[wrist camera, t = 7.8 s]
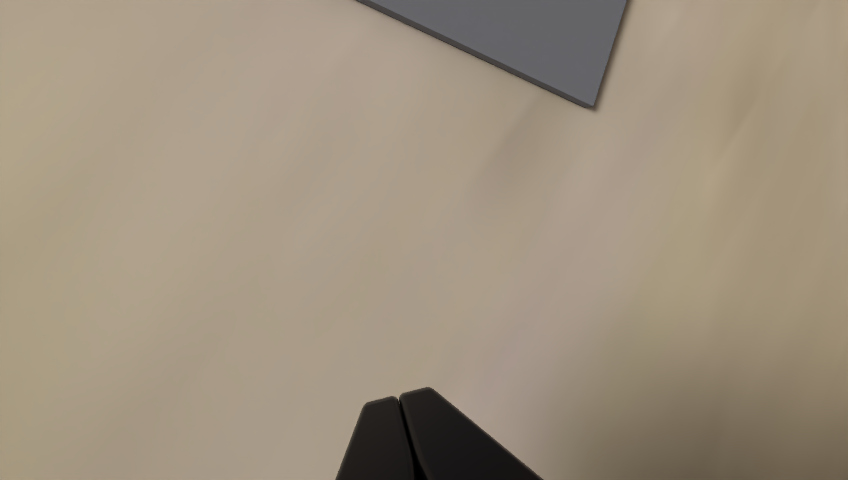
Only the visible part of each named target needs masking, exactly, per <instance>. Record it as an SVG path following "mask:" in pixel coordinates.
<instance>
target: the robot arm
mask: <svg viewBox="0 0 848 480" xmlns="http://www.w3.org/2000/svg"><path fill="white" fill-rule="evenodd" d="M399 403H400V404H399ZM335 480H543V479H542V478H541V477H540V476H538V475H537V474H536V473H535V472H534V471H532V470H531V469H530V468H529V467H527V466H526V465H525V464H524V463H523V462H521V461H520V460H519V459H518V458H517V457H515V456H514V455H513V454H512V453H510V452H509V451H508V450H507V449H506V448H504V447H503V446H502V445H501V444H500V443H498V442H497V441H496V440H495V439H493V438H492V437H491V436H490V435H489V434H487V433H486V432H485V431H484V430H483V429H481V428H480V427H479V426H478V425H476V424H475V423H474V422H473V421H472V420H470V419H469V418H468V417H467V416H465V415H464V414H463V413H462V412H461V411H459V410H458V409H457V408H456V407H455V406H453V405H452V404H451V403H450V402H448V401H447V400H446V399H445V398H444V397H442V396H441V395H440V394H439V393H438V392H436V391H435V390H434V389H432V388H430V387H425V388H421V389H417V390H413V391H410V392H406V393H403V394H401V395H400V397H399V401H398V399H397V398H396V397H394V396H390V397H386V398H383V399H379V400H375V401H371V402H368V403H366V404H365V405H364V406H363V408H362V410H361V413H360V416H359V418H358V421H357V424H356V426H355V429H354V432H353V434H352V437H351V440H350V442H349V445H348V448H347V450H346V453H345V456H344V458H343V461H342V463H341V466H340V469H339V471H338V474H337V477H336V479H335Z"/></svg>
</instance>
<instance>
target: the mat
mask: <svg viewBox="0 0 848 480" xmlns="http://www.w3.org/2000/svg"><path fill="white" fill-rule="evenodd" d="M357 1H359V2H361V3H363V4H366V5H368V6H370V7H372V8H374V9H376V10H378V11H380V12H383V13H385V14H387V15H389V16H391V17H393V18H395V19H397V20H400V21H402V22H404V23H406V24H408V25H410V26H412V27H414V28H417V29H419V30H421V31H423V32H425V33H427V34H429V35H431V36H434V37H436V38H438V39H440V40H442V41H444V42H446V43H448V44H451V45H453V46H455V47H457V48H459V49H461V50H463V51H465V52H468V53H470V54H472V55H474V56H476V57H478V58H480V59H483V60H485V61H487V62H489V63H491V64H493V65H495V66H497V67H500V68H502V69H504V70H506V71H508V72H510V73H512V74H514V75H517V76H519V77H521V78H523V79H525V80H527V81H529V82H531V83H534V84H536V85H538V86H540V87H542V88H544V89H546V90H548V91H551V92H553V93H555V94H557V95H559V96H561V97H563V98H565V99H568V100H570V101H572V102H574V103H576V104H578V105H580V106H582V107H592V106H594V102H595V99H596V96H597V93H598V90H599V87H600V83H601V80H602V77H603V74H604V71H605V68H606V64H607V61H608V58H609V55H610V52H611V49H612V45H613V42H614V39H615V36H616V33H617V30H618V26H619V23H620V20H621V17H622V14H623V10H624V7H625V4H626V1H627V0H357Z"/></svg>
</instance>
